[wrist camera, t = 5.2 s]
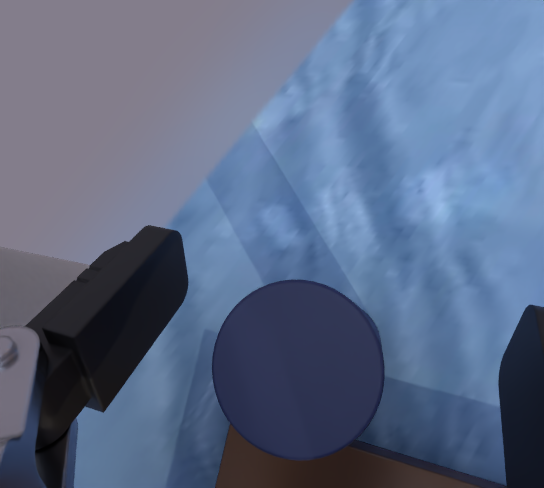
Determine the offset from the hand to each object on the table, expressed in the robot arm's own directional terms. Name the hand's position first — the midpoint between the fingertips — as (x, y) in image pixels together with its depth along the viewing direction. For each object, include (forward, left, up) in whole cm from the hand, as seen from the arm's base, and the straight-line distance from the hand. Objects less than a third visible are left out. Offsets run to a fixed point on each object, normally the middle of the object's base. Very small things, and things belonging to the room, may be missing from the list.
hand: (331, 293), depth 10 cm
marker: (0, -1, -6) cm, 6 cm away
